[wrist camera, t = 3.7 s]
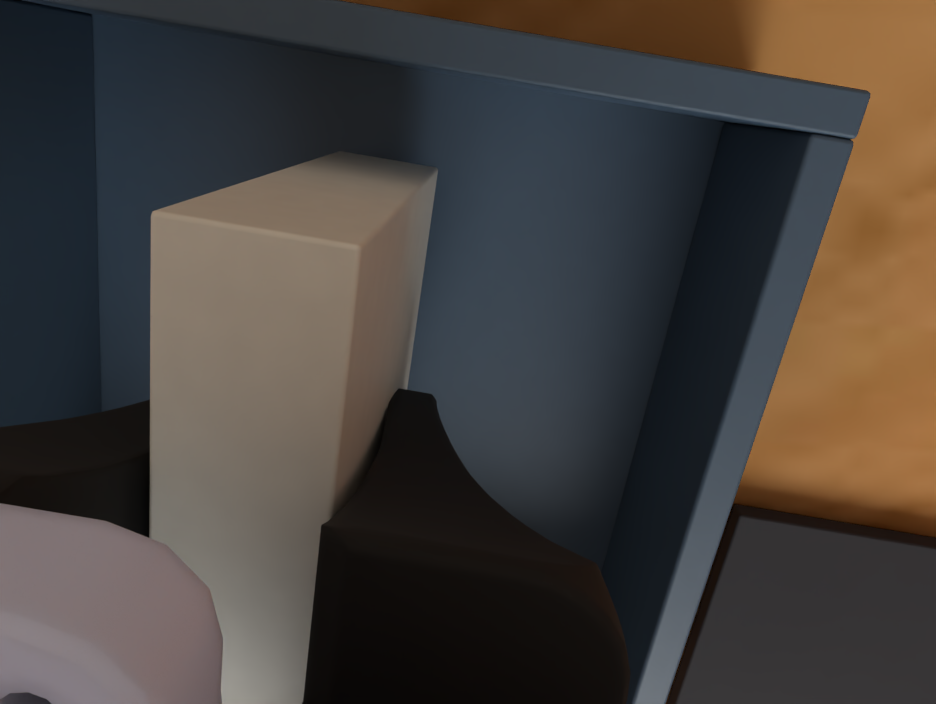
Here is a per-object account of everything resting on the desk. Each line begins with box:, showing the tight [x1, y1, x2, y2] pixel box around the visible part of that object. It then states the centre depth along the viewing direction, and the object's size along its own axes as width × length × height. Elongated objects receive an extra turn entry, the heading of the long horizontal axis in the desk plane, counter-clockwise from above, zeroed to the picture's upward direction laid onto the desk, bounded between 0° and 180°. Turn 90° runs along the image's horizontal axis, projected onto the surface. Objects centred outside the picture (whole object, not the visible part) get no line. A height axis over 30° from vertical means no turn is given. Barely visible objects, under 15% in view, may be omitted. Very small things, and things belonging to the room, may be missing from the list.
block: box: [149, 151, 438, 704], centre depth 11 cm, size 9×2×7 cm, turn 171°
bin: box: [0, 0, 870, 704], centre depth 13 cm, size 13×13×5 cm
